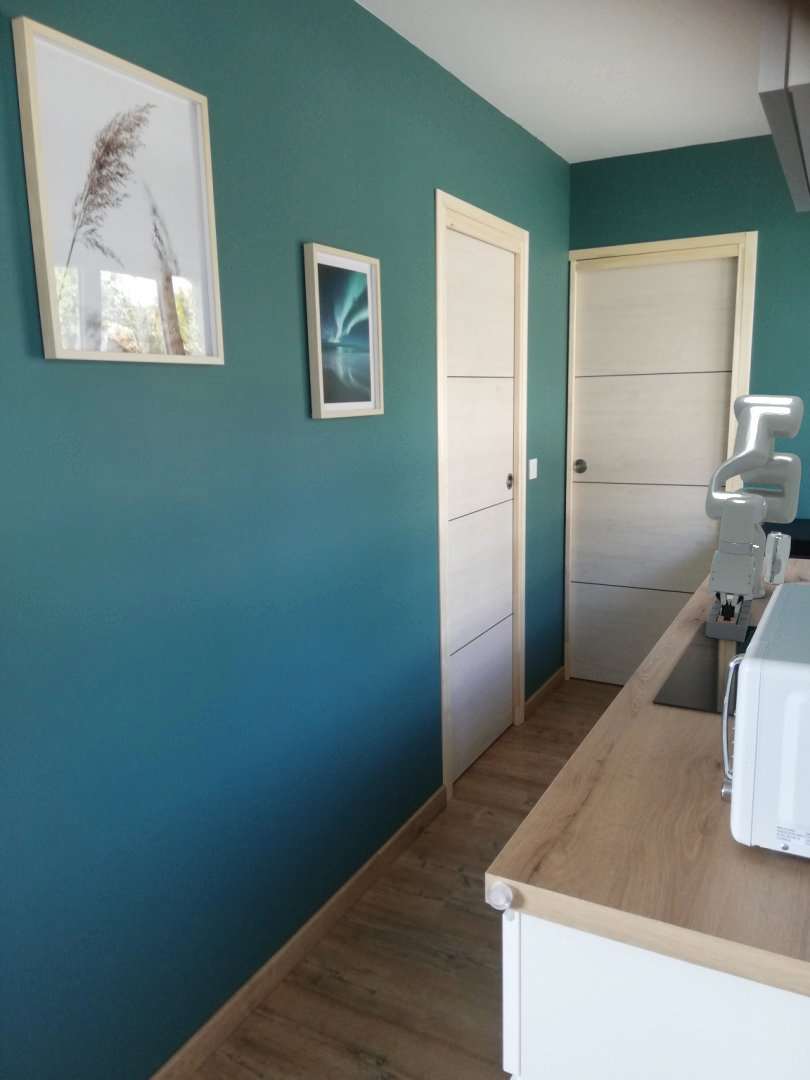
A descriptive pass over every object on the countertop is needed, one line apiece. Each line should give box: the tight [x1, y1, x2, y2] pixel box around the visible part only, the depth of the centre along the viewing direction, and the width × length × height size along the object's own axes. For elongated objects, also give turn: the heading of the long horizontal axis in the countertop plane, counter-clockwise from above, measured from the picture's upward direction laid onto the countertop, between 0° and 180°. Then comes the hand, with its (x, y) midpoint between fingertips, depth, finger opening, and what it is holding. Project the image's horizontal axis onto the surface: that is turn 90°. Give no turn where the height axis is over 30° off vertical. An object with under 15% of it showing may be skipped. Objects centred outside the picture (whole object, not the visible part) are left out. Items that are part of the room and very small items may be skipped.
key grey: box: [720, 607, 739, 618], centre depth 206 cm, size 4×4×2 cm
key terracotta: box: [717, 616, 737, 624], centre depth 200 cm, size 4×4×2 cm
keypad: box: [704, 587, 754, 643], centre depth 209 cm, size 27×9×9 cm, turn 154°
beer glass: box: [762, 533, 792, 586], centre depth 250 cm, size 7×7×15 cm
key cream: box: [727, 595, 742, 605], centre depth 217 cm, size 4×4×2 cm
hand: (727, 619), depth 200 cm, fingers closed
